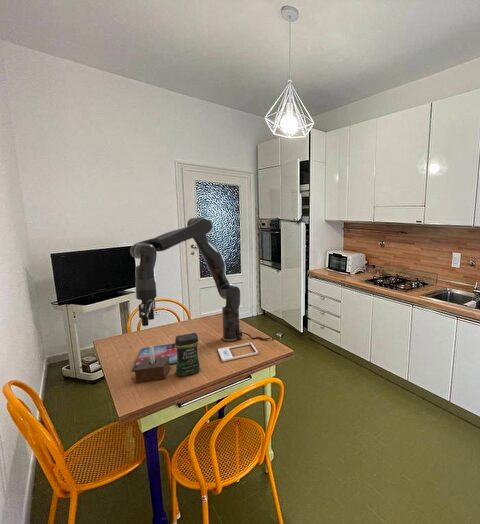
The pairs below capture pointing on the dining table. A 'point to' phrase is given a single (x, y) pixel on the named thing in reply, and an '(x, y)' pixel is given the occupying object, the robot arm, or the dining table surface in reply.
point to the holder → (152, 369)
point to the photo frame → (227, 355)
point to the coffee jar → (187, 354)
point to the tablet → (158, 353)
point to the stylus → (152, 355)
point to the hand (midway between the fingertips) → (148, 322)
